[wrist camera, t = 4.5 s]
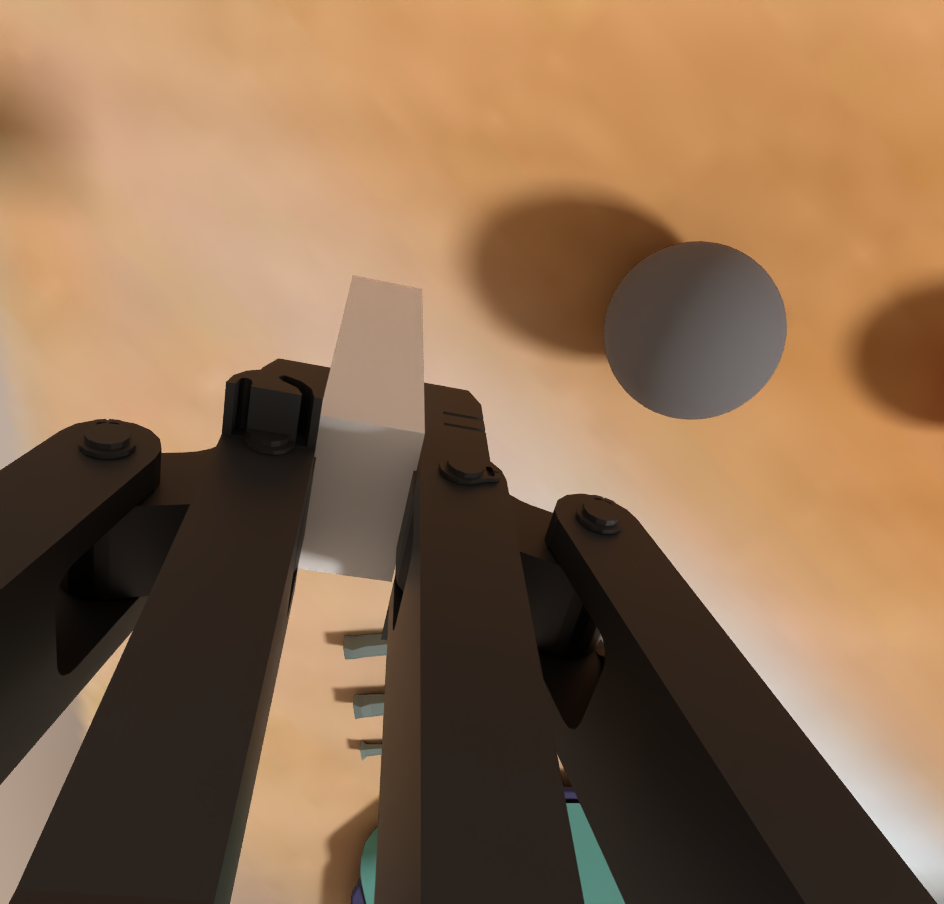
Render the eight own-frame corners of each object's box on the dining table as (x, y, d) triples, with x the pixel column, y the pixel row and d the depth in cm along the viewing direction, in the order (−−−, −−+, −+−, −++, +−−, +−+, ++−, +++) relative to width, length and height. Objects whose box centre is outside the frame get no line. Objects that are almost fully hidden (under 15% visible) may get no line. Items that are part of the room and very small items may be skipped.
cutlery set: (369, 996, 48) (367, 1039, 46) (298, 615, 34) (291, 652, 32) (689, 966, 49) (701, 1007, 47) (750, 580, 34) (771, 614, 32)
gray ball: (677, 402, 29) (728, 480, 24) (557, 328, 27) (586, 395, 22) (780, 279, 27) (859, 336, 22) (657, 190, 25) (713, 230, 20)
